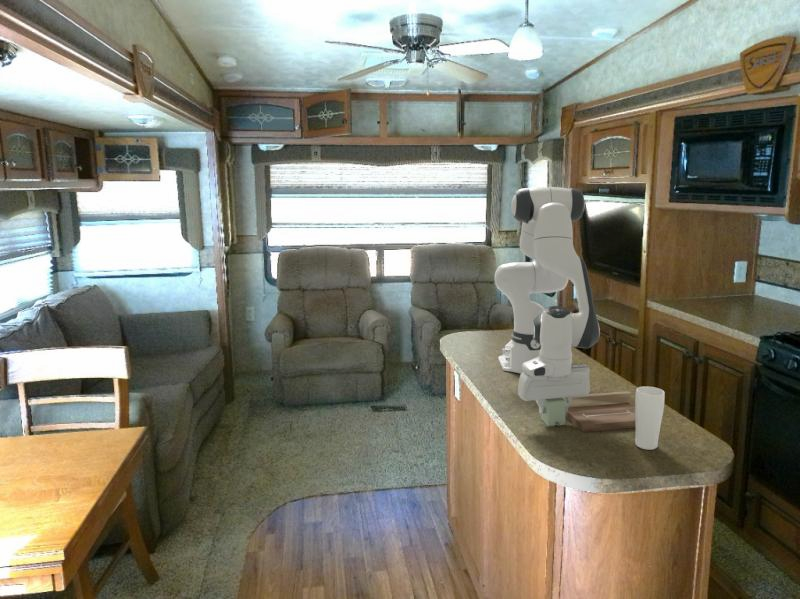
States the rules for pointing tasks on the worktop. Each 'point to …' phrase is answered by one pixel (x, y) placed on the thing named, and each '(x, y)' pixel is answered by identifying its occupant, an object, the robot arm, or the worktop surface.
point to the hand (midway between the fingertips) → (553, 412)
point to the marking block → (554, 411)
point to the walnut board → (602, 411)
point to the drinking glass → (648, 416)
